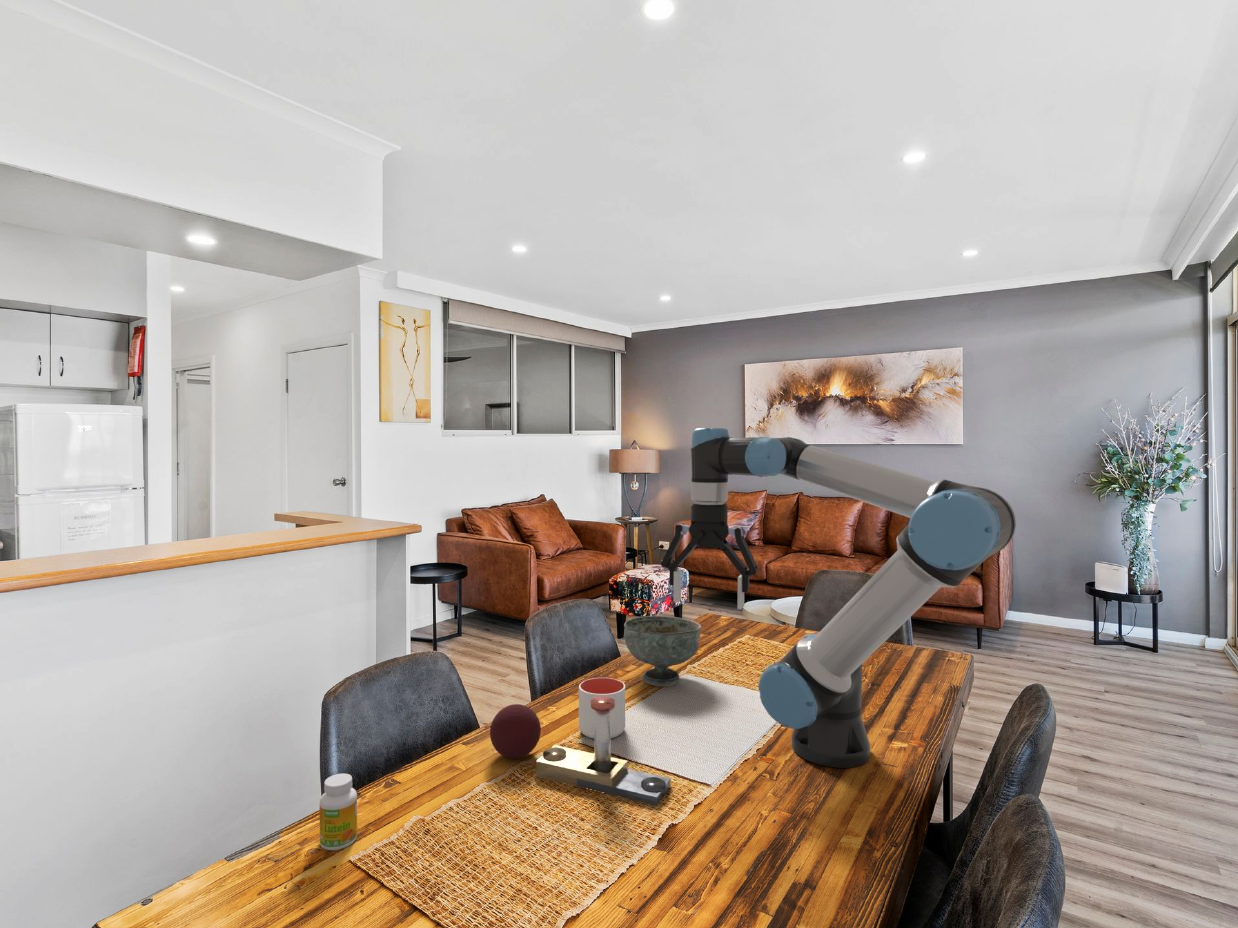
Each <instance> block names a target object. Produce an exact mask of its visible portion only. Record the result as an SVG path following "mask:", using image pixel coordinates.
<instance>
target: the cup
mask: <svg viewBox="0 0 1238 928" xmlns="http://www.w3.org/2000/svg"><path fill="white" fill-rule="evenodd" d="M601 696H605V697H611V698H613V699H614V700H615V707H614V709H612V710H611V739H615V738H616V737H619V736H620V735H621V734H622V733H623V732H624V730H625V729H626V684H625V683H624V682H623V681H622V680H619V679H616V678H611V677H593V678H589V679H586V680H584V681H582V682H581V683H579V686H578V729H579V731H580V733H582V735H584V736H585V737H587V738H589V739H593V740H594V731H595V710H593V709H592V708H591V700H592V699H593V698H595V697H601Z"/></svg>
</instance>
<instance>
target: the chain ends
mask: <svg viewBox="0 0 1238 928" xmlns="http://www.w3.org/2000/svg"><path fill="white" fill-rule="evenodd" d="M535 764H536V765H535V777H536V778H540V779H544V780H547V779H548V781H553V782H556V783H560V784H564V783H565V785H569V786H572V785H573V787H577V788H581V787H582V788H581V789H585V788H588V789H587V790H589V789H592V790H591V791H593V790H596V791H595V792H597V791H599V792H598V793H601V792H604V793H603V794H606V795H610V794H611V795H610V796H615V797H618V798H622V799H623V798H624V799H627V800H631V801H635V802H640V803H644V804H647V805H651V806H656V807H658V805H659V803H661V801H662V799H664V798H665V797H666V795H667V792H668V791H669V789H670V788H671V778H670V777H666V776H662V775H658V774H653V773H648V772H643V771H639V770H635V769H630V768H628V760H625V759H621V758H617V757H616V758H615V757H612V756H611V772H610V773H609V774H607V773H603V772H598V771H594V752H587V751H584V750H580V749H574V748H570V747H564V746H560V745H556V744H554V745H553V746H552V747H549V748H546V749H545V750H544V751H543V752H542V756H540V757H539V758H538V759H537V760H536V761H535Z"/></svg>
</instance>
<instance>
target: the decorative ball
mask: <svg viewBox="0 0 1238 928" xmlns="http://www.w3.org/2000/svg"><path fill="white" fill-rule="evenodd" d="M541 726H542V725H541V721H540V719H539V716H538V714H537V713H535V711H534V710H533V709H531V708H530V707H529V706H527V705H523V704H518V703H513V704H509V705H507V706H505V707H503V708H502V709H500V710H499V711H498V712H497V713H496V715H495V716H494V718H493V719H492V721H491V724H490V729H489V736H490V742H491V744H492V747H493V748H494V749H495V751H496V752H497V753H498V754H500V755H501V756H502V757H504V758H507V759H520V758H523V757H526V756H528V755H529V754H530V753H531V752H532V751H533V750H534V749H535V748H536V746H537V745H538V743H539V741H540V738H541V733H542V732H541V731H542V729H541V728H542V727H541Z"/></svg>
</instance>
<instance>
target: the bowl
mask: <svg viewBox="0 0 1238 928" xmlns="http://www.w3.org/2000/svg"><path fill="white" fill-rule="evenodd" d="M623 626H624V634H623V639H624V642H625V646H626V648H627V649H628V651H629V652H630V654H631V656H632V657H634V658H635V659H636V660H638V661H639V662H642V663H645V664H648V665H651V666H654V668H650V669H648V670H646V671H645V672H644V673H643V675H642V681H643V682H644V683H646V684H649V685H651V686H657V687H672V686H675V685H677V684H678V683H679V681H680V675H679V673H678V672H677V671H675V670H674V669H671V668H669V667H672V666H677V665H681V664H683V663H685V662H687V661H689V660H691V659H692V658H693V657H694V656H695V655H696V654H697V653H698V651H699V646H700V645H699V643H700V636H701V630H702V629H701V628H702V626H701V624H700V623H698V622H696V621H693V620H691V619H685V618H681V617H677V616H665V615H648V616H646V615H645V616H637V617H633V618H630V619H628V620H626V621H625V622H624V624H623Z"/></svg>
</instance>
